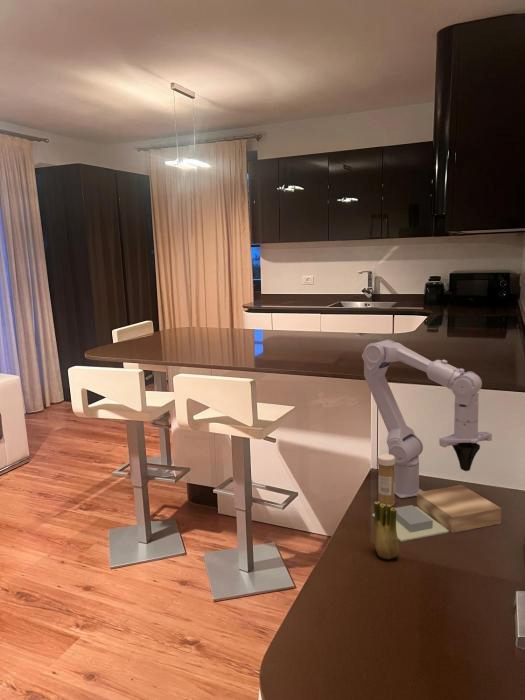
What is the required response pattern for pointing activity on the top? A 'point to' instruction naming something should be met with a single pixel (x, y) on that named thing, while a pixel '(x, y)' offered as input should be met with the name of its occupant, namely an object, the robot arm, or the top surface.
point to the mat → (407, 535)
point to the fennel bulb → (385, 531)
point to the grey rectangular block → (413, 519)
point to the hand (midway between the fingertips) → (465, 469)
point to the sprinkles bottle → (386, 479)
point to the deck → (458, 508)
